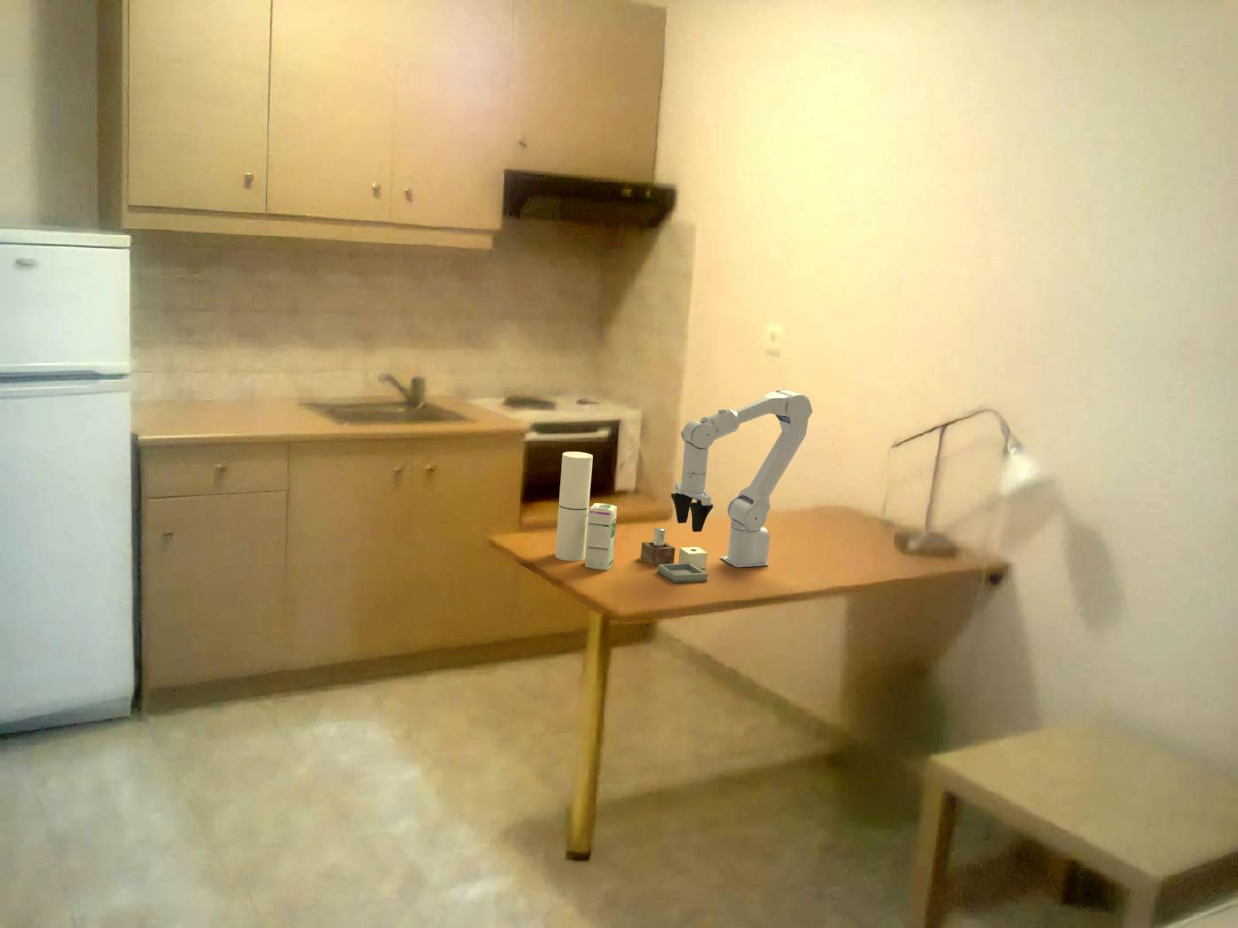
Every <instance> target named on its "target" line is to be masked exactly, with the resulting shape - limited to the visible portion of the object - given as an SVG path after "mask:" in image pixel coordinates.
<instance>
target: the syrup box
mask: <svg viewBox="0 0 1238 928" xmlns="http://www.w3.org/2000/svg"><path fill="white" fill-rule="evenodd" d="M617 511H618V506H617V505H615V504H611V503H610V504H609V503H604V502H603V503H600V502H599V503H598V502H597V503H596V502H595V503H593V504H592V505H591V506H589V509H588V523H587V536H586V549H585V558H584V567H585V568H588V569H594V570H601V571H609V569H611V567H612V566H613V564H614V556H615V545H616V544H615V543H616V531H617V530H616V529H617V513H618V512H617Z"/></svg>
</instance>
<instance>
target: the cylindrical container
mask: <svg viewBox="0 0 1238 928" xmlns="http://www.w3.org/2000/svg"><path fill="white" fill-rule="evenodd" d="M593 458H594V457H593V454H590V453H587V452H582V451H565V452H563V453H562V457H561V470H560V471H561V472H560V484H559V498H558V510H557V512H558V513H557V522H556V523H557V525H556V536H555V537H556V540H555V542H556V543H555V549H554V550H555V553H554V557H555V558H556V559H559V560H561V561H567V562H579V561H583V560H585V557H586V542H587V526H588V509H589V508H590V497H591V494H590V493H591V484H592V471H593V460H594V459H593Z"/></svg>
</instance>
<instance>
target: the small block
mask: <svg viewBox="0 0 1238 928" xmlns="http://www.w3.org/2000/svg"><path fill="white" fill-rule="evenodd" d="M678 553H679V554H678V562H677V563H691V564H693V565H694V566H696V567H698V568H699V569H701V570H703V569H707V565H708V564H707V563H708V552H707V551H706V550H704V549H702V548H700V547H699V546H690V547H689V546H688V547H679V552H678Z"/></svg>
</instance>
